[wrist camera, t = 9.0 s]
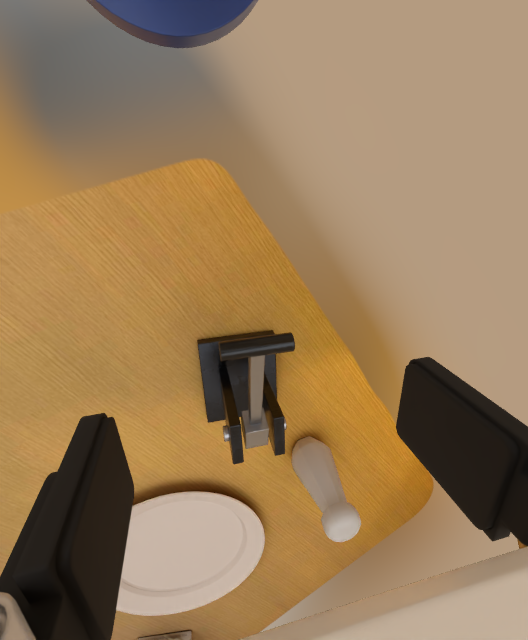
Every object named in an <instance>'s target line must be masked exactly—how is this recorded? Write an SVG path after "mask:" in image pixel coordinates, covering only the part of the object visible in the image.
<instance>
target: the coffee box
mask: <svg viewBox="0 0 528 640" xmlns="http://www.w3.org/2000/svg"><path fill="white" fill-rule="evenodd" d="M191 634H192V631H185V632H178V633H171V634H164V635H157V636H150V637H143V638H139V639H138V640H191Z"/></svg>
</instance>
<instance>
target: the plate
mask: <svg viewBox="0 0 528 640" xmlns="http://www.w3.org/2000/svg"><path fill="white" fill-rule="evenodd" d="M264 543H265V534H264V528H263V525H262V523H261V521H260V519H259V517H258V516H257V515H256V513H255V512H254V511H253V510H252V509H251V508H249V507H248V506H247V505H246V504H244V503H242V502H240V501H239V500H236V499H234V498H232V497H229V496H226V495H222V494H218V493H211V492H199V491H193V492H179V493H172V494H167V495H163V496H159V497H155V498H152V499H149V500H146V501H144V502H141V503H139V504H136V505H134V506H132V512H131V518H130V524H129V531H128V537H127V543H126V550H125V556H124V562H123V569H122V575H121V581H120V588H119V594H118V600H117V606H116V610H118V611H122V612H125V613H130V614H136V615H152V616H155V615H168V614H175V613H180V612H184V611H188V610H192V609H195V608H198V607H201V606H203V605H206V604H208V603H210V602H213V601H215V600H217V599H218V598H220V597H222V596H224V595H225V594H227V593H229V592H230V591H232V590H233V589H234V588H236V587H237V586H238V585H239V584H240V583H242V582H243V581H244V580H245V579H246V578H247V577H248V576H249V574H250V573H251V572H252V571H253V569H254V568H255V567H256V565H257V563H258V561H259V560H260V558H261V555H262V552H263V548H264Z"/></svg>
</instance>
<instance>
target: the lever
mask: <svg viewBox="0 0 528 640" xmlns="http://www.w3.org/2000/svg"><path fill="white" fill-rule="evenodd" d="M294 349H295V342H294V337H293V335H292V333H282V334H275V335H267V336H260V337H252V338H244V339H237V340H229V341H222V342H219V353H220V359H221V361H229V360H236V359H243V358H248V410H246V411H241V423H242V432H243V437H244V442H245V447H246V449H248V448H253V447H258V446H263V445H268V437H269V426H268V423H267V419H266V415H265V411H264V408H262V403H263V382H264V362H265V355H270V354H277V353H284V352H291V351H294Z"/></svg>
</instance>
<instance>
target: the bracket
mask: <svg viewBox="0 0 528 640" xmlns="http://www.w3.org/2000/svg"><path fill="white" fill-rule="evenodd" d="M267 335H275V333H274V332H273V330H271V331H263V332H256V333H248V334H240V335H232V336H225V337H217V338H209V339H202V340H198V341H197V342H198V350H199V358H200V366H201V373H202V381H203V389H204V396H205V404H206V412H207V419H208V422H214V421H220V420H226V426H223V434H224V441H229V443H230V449H231V455H232V460H233V464H238V463H243V462H244V459H243V447H242V435H241V424H240V420H239V417H241V411H246V410H248V358H243V359H236V360H229V361H221V359H220V353H219V342H222V341H229V340H237V339H244V338H252V337H260V336H267ZM262 408H264V411H265V415H266V419H267V423H268V426H269V439H270V442H271V445H272V448H273V451H274V454H275V456H277V455H281V454H285V431H284V430H286V420H285V417H284V415H283V413H282V411H281V408H280V406H279V404H278V402H277V387H276V354H270V355H265V362H264V382H263V403H262Z"/></svg>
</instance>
